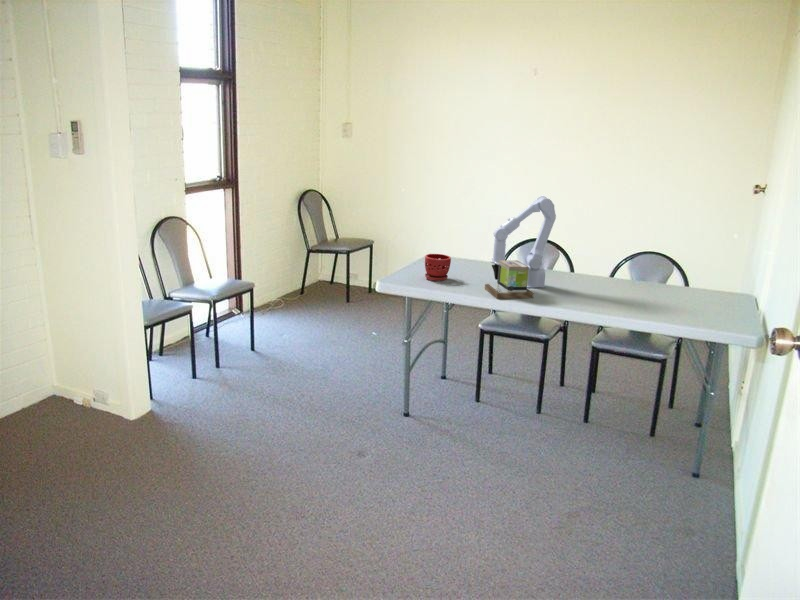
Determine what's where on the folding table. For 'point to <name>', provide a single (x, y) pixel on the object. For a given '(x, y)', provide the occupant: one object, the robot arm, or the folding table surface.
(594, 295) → the folding table surface
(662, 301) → the folding table surface
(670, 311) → the folding table surface
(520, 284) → the tea box
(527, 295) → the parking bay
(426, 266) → the plant pot
